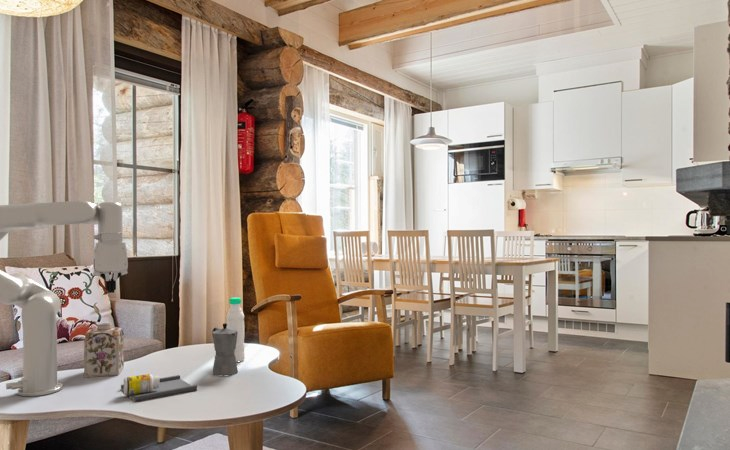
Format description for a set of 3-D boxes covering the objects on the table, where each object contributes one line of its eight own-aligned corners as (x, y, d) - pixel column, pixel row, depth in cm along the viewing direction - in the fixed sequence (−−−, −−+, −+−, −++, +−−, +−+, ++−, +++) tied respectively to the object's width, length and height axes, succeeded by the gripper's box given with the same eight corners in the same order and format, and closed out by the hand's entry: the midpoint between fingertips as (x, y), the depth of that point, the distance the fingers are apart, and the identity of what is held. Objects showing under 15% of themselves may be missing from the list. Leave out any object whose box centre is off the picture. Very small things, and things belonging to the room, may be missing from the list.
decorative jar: (83, 378, 194) (83, 327, 194) (90, 370, 205) (90, 322, 205) (119, 375, 197) (119, 325, 197) (124, 367, 208) (124, 320, 208)
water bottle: (224, 359, 219) (224, 297, 219) (242, 358, 222) (242, 296, 222) (228, 363, 213) (227, 299, 213) (246, 361, 216) (246, 298, 216)
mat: (135, 401, 165) (135, 397, 165) (121, 389, 179) (121, 384, 179) (196, 390, 177) (196, 385, 177) (179, 379, 190) (178, 375, 190)
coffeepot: (246, 373, 197) (245, 323, 197) (222, 378, 191) (222, 327, 191) (224, 366, 208) (224, 319, 209) (201, 371, 202) (201, 322, 202)
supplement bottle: (123, 377, 174) (157, 373, 179) (123, 395, 172) (157, 390, 177) (124, 377, 169) (159, 372, 174) (125, 395, 168) (160, 391, 173)
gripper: (88, 238, 178) (88, 295, 178) (136, 238, 188) (136, 291, 187) (83, 238, 184) (84, 293, 184) (130, 238, 193) (130, 290, 193)
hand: (110, 292), depth 186 cm, fingers closed
